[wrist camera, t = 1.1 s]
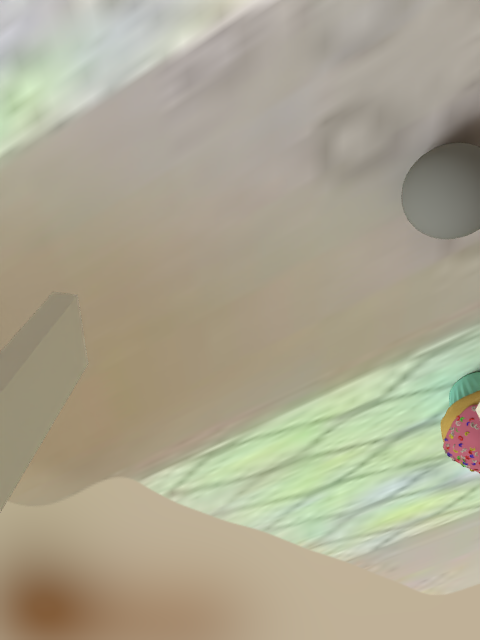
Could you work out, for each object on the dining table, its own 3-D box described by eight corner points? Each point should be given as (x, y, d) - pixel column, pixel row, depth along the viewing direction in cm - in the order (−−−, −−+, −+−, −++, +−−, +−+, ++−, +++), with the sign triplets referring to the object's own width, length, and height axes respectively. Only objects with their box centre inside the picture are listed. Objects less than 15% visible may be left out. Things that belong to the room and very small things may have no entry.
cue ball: (406, 130, 27) (431, 149, 22) (496, 139, 27) (540, 159, 22) (383, 216, 30) (401, 248, 25) (464, 224, 30) (497, 258, 25)
